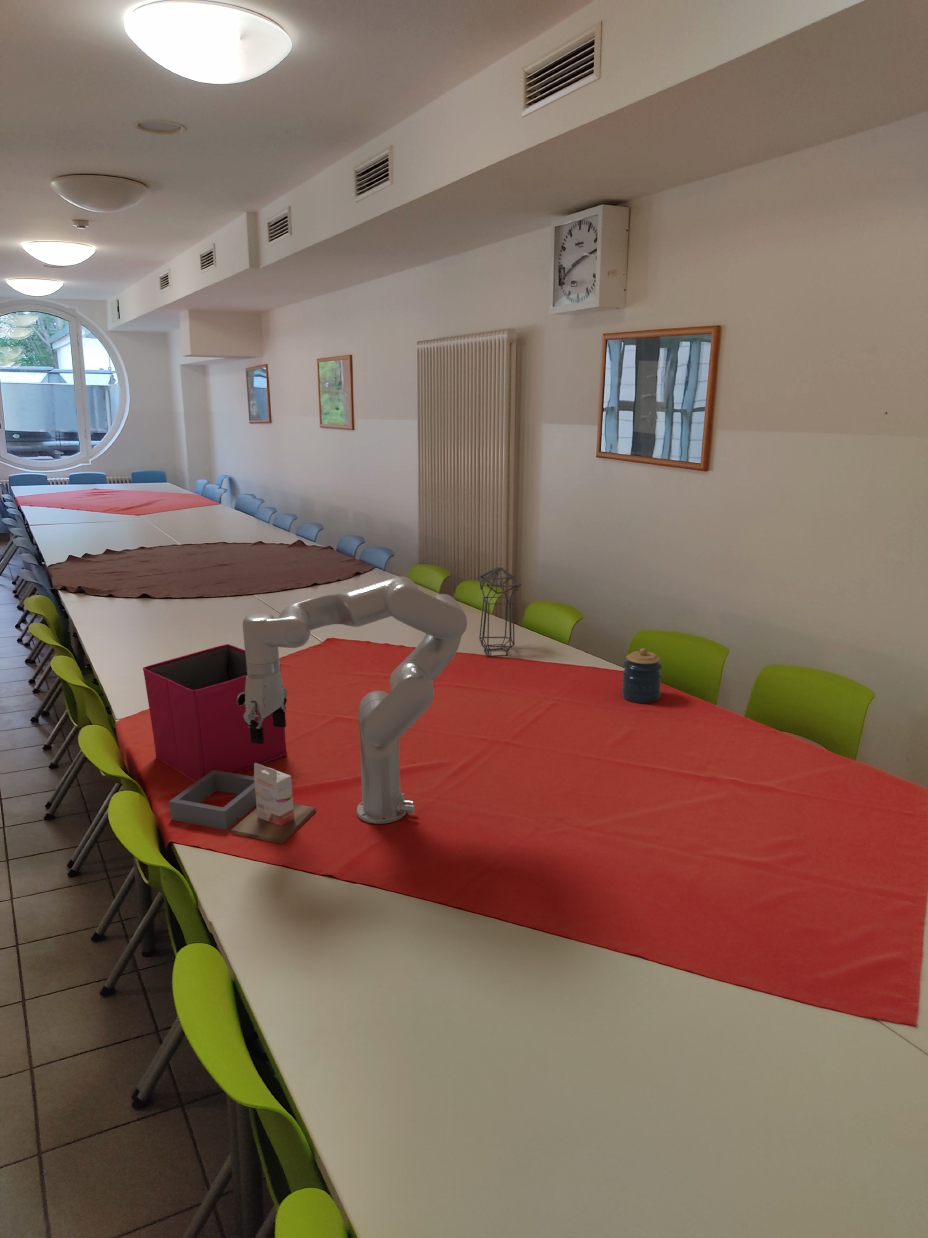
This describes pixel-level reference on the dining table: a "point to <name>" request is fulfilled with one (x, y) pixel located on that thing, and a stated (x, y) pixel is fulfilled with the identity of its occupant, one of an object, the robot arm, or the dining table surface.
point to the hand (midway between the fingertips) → (269, 734)
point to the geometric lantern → (492, 573)
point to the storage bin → (206, 714)
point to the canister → (642, 677)
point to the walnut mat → (272, 825)
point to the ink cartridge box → (273, 795)
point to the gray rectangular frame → (194, 812)
